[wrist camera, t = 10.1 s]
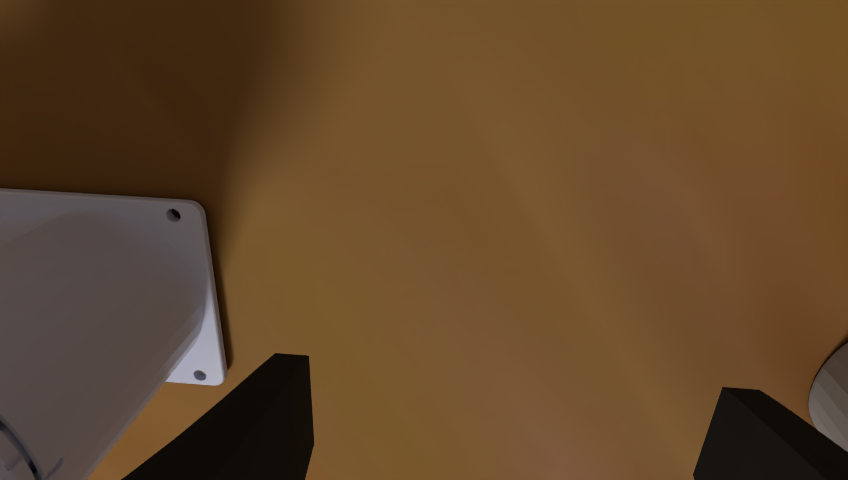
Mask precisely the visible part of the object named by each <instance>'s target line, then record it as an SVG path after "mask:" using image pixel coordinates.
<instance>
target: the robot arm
mask: <svg viewBox="0 0 848 480" xmlns="http://www.w3.org/2000/svg"><path fill="white" fill-rule="evenodd" d="M172 209H175V210H177V211H178V212H179V213H180V216H181V218H176V217H175V216H174V215H173V213H172ZM199 370H200V371H203V372H204V373H205V374H206V375H205V374H202V373H200V372H199ZM226 377H227V365H226V358H225V351H224V344H223V336H222V329H221V322H220V315H219V308H218V301H217V294H216V286H215V279H214V272H213V265H212V258H211V251H210V243H209V236H208V229H207V222H206V215H205V211H204V209H203V207H202V206H201V205H200V204H199V203H197V202H196V201H192V200H184V199H168V198H152V197H136V196H120V195H103V194H87V193H71V192H55V191H39V190H22V189H6V188H0V480H87V479H88V477H89V476H90V475H91V474H92V472H93V471H94V470H95V469H96V467H97V466H98V465H99V464H100V462H101V461H102V460H103V459H104V457H105V456H106V455H107V454H108V452H109V451H110V450H111V449H112V447H113V446H114V445H115V444H116V442H117V441H118V440H119V439H120V437H121V436H122V435H123V434H124V432H125V431H126V430H127V429H128V427H129V426H130V425H131V424H132V422H133V421H134V420H135V419H136V417H137V416H138V415H139V414H140V412H141V411H142V410H143V409H144V407H145V406H146V405H147V404H148V402H149V401H150V400H151V399H152V397H153V396H154V395H155V394H156V392H157V391H158V390H159V389H160V387H161V386H162V385H163V384H164V382H177V383H189V384H202V385H220V384H222V383H223V381H224V380H225V378H226ZM313 446H314V432H313V416H312V400H311V384H310V367H309V356H306V355H293V354H279V353H275V354H274V355H273V356H271V357H270V358H269V359H268V360H267V361H266V362H264V363H263V364H262V365H261V366H260V367H258V368H257V369H256V370H255V371H254V372H253V373H252V374H250V375H249V376H248V377H247V378H246V379H245V380H244V381H242V382H241V383H240V384H239V385H238V386H237V387H236V388H234V389H233V390H232V391H231V392H230V393H229V394H228V395H226V396H225V397H224V398H223V399H222V400H221V401H219V402H218V403H217V404H216V405H215V406H214V407H212V408H211V409H210V410H209V411H208V412H206V413H205V414H204V415H203V416H202V417H200V418H199V419H198V420H197V421H196V422H194V423H193V424H192V425H191V426H190V427H188V428H187V429H186V430H185V431H184V432H182V433H181V434H180V435H179V436H178V437H176V438H175V439H174V440H173V441H171V442H170V443H169V444H167V445H166V446H165V447H163V448H162V449H161V450H160V451H158V452H157V453H156V454H154V455H153V456H152V457H150V458H149V459H148V460H147V461H145V462H144V463H143V464H141V465H140V466H139V467H137V468H136V469H135V470H134V471H132V472H131V473H130V474H128V475H127V476H126V477H124V478H123V479H121V480H305V477H306V473H307V469H308V465H309V461H310V458H311V454H312V450H313ZM693 476H694V480H848V452H847V451H846V450H844V449H843V448H842V447H840V446H839V445H837V444H836V443H835V442H833V441H832V440H831V439H829V438H828V437H826V436H825V435H824V434H822V433H821V432H820V431H818V430H817V429H815V428H814V427H813V426H811V425H810V424H809V423H807V422H806V421H804V420H803V419H802V418H800V417H799V416H797V415H796V414H795V413H793V412H792V411H790V410H789V409H787V408H786V407H785V406H783V405H782V404H780V403H779V402H777V401H776V400H774V399H773V398H771V397H770V396H768V395H767V394H765V393H763V392H762V391H760V390H754V389H740V388H727V387H722V390H721V393H720V396H719V399H718V402H717V405H716V408H715V411H714V414H713V417H712V420H711V423H710V426H709V429H708V432H707V435H706V438H705V441H704V444H703V447H702V450H701V453H700V456H699V459H698V462H697V465H696V467H695V470H694V473H693Z"/></svg>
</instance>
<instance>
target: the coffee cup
mask: <svg viewBox="0 0 848 480" xmlns="http://www.w3.org/2000/svg"><path fill="white" fill-rule="evenodd" d="M808 403H809V413H810V416H811V418H812V420H813V423H814V425H815V427H816V428H817V430H818V431H820V432H821V433H822V434H824V435H825V436H826V437H828V438H829V439H831V440H832V441H833V442H835V443H836V444H837V445H839V446H840V447H842V448H843V449H844V450H846V451H847V452H848V343H846V344H845V345H843V346H842V347H841V348H840V349H839V350H838V351H836V352H835V353H834V354H833V355H832V356H831V357H830V358H829V359H828V361H827V362H826V363H825V364H824V365H823V366H822V368H821V370H820V371H819V373H818V374H817V376H816V378H815V380H814V383H813V385H812V388H811V390H810V396H809V402H808Z"/></svg>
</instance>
